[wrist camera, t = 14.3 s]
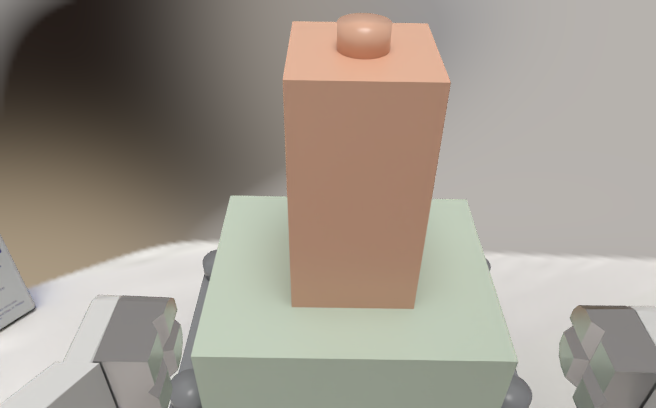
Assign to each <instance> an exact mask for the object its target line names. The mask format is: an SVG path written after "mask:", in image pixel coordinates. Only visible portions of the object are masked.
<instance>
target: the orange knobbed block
mask: <svg viewBox="0 0 656 408" xmlns="http://www.w3.org/2000/svg"><path fill="white" fill-rule="evenodd" d="M450 84H451V82H450V80H449V77H448V74H447V72H446V69H445V67H444V64H443V61H442V59H441V56H440V54H439V51H438V49H437V46H436V44H435V41H434V39H433V36H432V33H431V31H430V28H429V26H428V24H419V23H392V21H391V20H390V19H388V18H386V17H384V16H381V15H377V14H371V13H354V14H348V15H345V16H342V17H340V18H339V19H338V20H337V22H296V21H295V22H294V21H293V22H292V28H291V34H290V40H289V46H288V52H287V57H286V63H285V69H284V75H283V100H284V124H285V151H286V175H287V201H288V227H289V252H290V278H291V303H292V307H317V308H384V309H414V305H415V298H416V292H417V286H418V280H419V274H420V268H421V262H422V256H423V250H424V243H425V237H426V231H427V225H428V219H429V213H430V207H431V201H432V194H433V188H434V182H435V175H436V170H437V164H438V157H439V152H440V146H441V139H442V133H443V127H444V121H445V115H446V109H447V103H448V97H449V91H450Z"/></svg>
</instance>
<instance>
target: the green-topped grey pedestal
mask: <svg viewBox="0 0 656 408" xmlns="http://www.w3.org/2000/svg"><path fill="white" fill-rule="evenodd" d="M203 267H204V273H205V274H204V278H203V281H202V285H201V289H200V293H199V297H198V301H197V304H196V308H195V312H194V316H193V320H192V323H191V327H190V331H189V335H188V339H187V343H186V346H185V350H184V354H183V358H182V362H181V366H180V369H179V373H178V374H177V375H175V376H174V377H173V379H172V380H171V384H172V388H173V390H172V394H171V398H170V400H171V404H170V408H529V405H530V403H531V400H532V392H531V389H530V388H529V386H528V384H527V383H526V382H525V381H524V380H522V379H521V378H519V377H518V375H517V371H516V366H517V363H518V360H517V356H516V353H515V350H514V347H513V344H512V341H511V337H510V334H509V331H508V328H507V325H506V322H505V319H504V315H503V312H502V309H501V306H500V303H499V300H498V297H497V293H496V290H495V287H494V284H493V281H492V278H491V275H490V268H491V266H490V263H489V261H488V260H487V259H486V258H485V256H484V253H483V249H482V246H481V243H480V240H479V237H478V234H477V231H476V227H475V224H474V221H473V218H472V215H471V212H470V209H469V205H468V202H467V200H466V199H465V200H463V199H432V201H431V207H430V213H429V219H428V225H427V231H426V237H425V243H424V250H423V256H422V262H421V268H420V274H419V280H418V286H417V292H416V298H415V305H414V309H384V308H317V307H292V303H291V278H290V252H289V227H288V201H287V197H281V196H280V197H278V196H277V197H276V196H231V197H230V200H229V205H228V208H227V212H226V217H225V220H224V225H223V229H222V233H221V237H220V241H219V245H218V249H217V250H214V251H210V252H209V253H208V254H207V255H206V256H205V257H204V259H203Z"/></svg>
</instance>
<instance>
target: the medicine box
mask: <svg viewBox="0 0 656 408" xmlns="http://www.w3.org/2000/svg"><path fill="white" fill-rule="evenodd" d="M34 308H35V304H34V301H33V299H32V298H31V296H30V293H29V291H28V290H27V288H26V286H25V284H24V282H23V280H22V278H21V276H20V273H19V271H18V269H17V267H16V265H15V263H14V261H13V259H12V257H11V255H10V253H9V251H8V249H7V247H6V245H5V243H4V241H3V239H2V237H1V235H0V329H2V328H3V327H5V326H7V325H8V324H10V323H11V322H13V321H14V320H16V319H17V318H19V317H21V316H22V315H24V314H26V313H27V312H29V311H31V310H32V309H34Z"/></svg>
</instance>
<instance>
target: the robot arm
mask: <svg viewBox="0 0 656 408" xmlns="http://www.w3.org/2000/svg"><path fill="white" fill-rule="evenodd" d="M176 312H177V307H176V303H175V300H174V298H166V297H145V296H115V295H97V296H96V297H95V298H94V299H93V300H92V301H91V304H90V306H89V308H88V310H87V312H86V314H85V316H84V318H83V320H82V323H81V325H80V327H79V329H78V331H77V333H76V335H75V337H74V339H73V341H72V344H71V346H70V348H69V350H68V352H67V354H66V356H65V358H64V360H63V362H55V363H53V364H52V365H51V366H49V367H48V368H47V369H45V370H44V371H43V372H41V373H40V374H39V375H38V376H36V377H35V378H34V379H32V380H31V381H30V382H28V383H27V384H26V385H24V386H23V387H22V388H21V389H19V390H18V391H17V392H15V393H14V394H13V395H11V396H10V397H9V398H7V399H6V400H5V401H4V402H2V403H1V404H0V408H168V405H169V401H170V398H171V394H172V390H173V388H172V384H171V380H170V377H171V376H172V375H173V374H174V373H175V372H176V371H177V370H178V368H179V364H180V360H181V354H182V345H183V339H182V329H181V324H179V323H178V322H177V321H176V320H175V316H176ZM570 319H571V322H572V324H573V326H572V327H571V328H569V329H568V330H566V331H565V332H563V335H562V338H561V340H560V343H559V358H560V363H561V368H562V370H563V373H564V376H565V378H566V379H567V380H569V381H570V382H571V383H572V384H573V385H574V386H575V387H577V388H576V390H575V393H574V395H573V399H574V402H575V404H576V407H577V408H656V307H653V306H628V307H627V306H592V305H578V306H577V307H576V308H575V309H574V310H573V312H572V314H571V316H570Z"/></svg>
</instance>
